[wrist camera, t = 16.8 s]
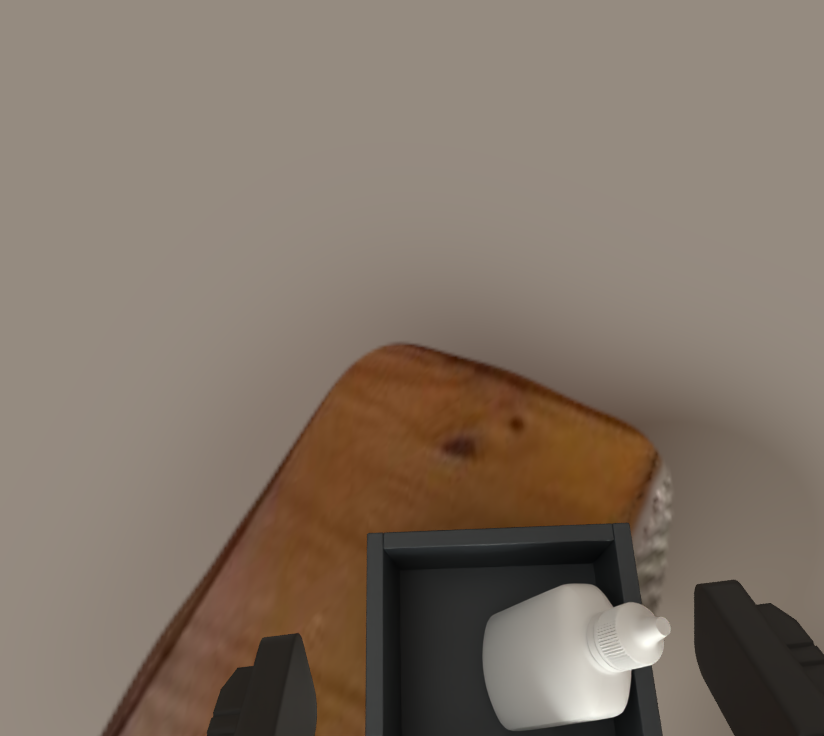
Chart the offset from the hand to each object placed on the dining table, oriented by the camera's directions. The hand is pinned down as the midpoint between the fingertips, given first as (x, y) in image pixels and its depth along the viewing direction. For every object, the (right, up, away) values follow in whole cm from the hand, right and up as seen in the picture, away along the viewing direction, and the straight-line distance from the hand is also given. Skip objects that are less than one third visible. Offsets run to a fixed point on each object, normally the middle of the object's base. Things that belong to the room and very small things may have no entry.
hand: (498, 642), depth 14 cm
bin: (+3, -11, +23) cm, 26 cm away
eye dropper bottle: (+3, -10, +22) cm, 24 cm away
